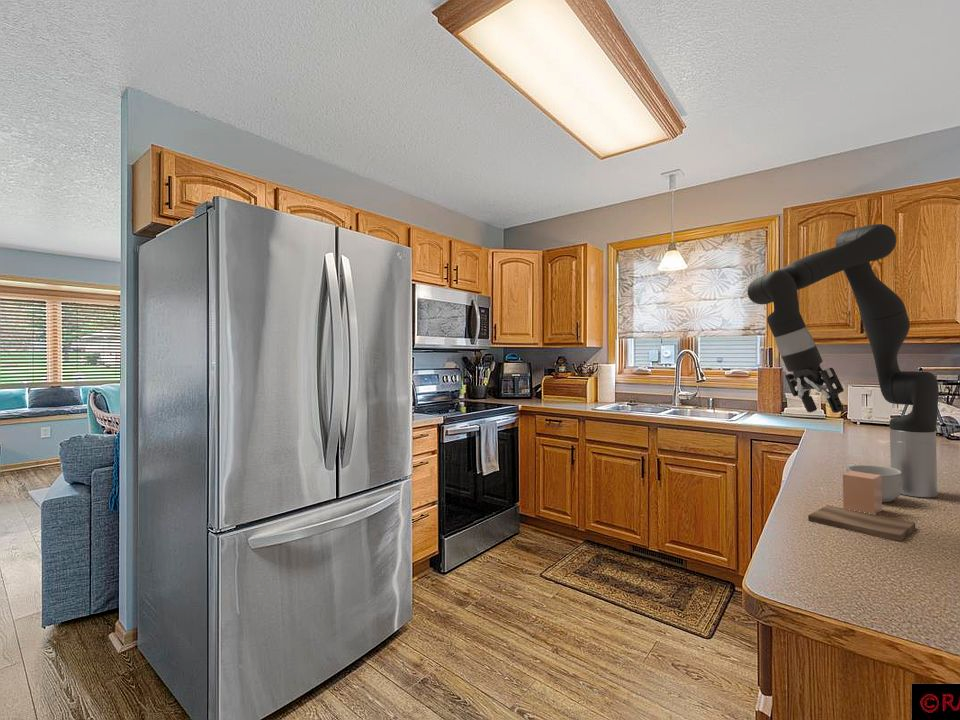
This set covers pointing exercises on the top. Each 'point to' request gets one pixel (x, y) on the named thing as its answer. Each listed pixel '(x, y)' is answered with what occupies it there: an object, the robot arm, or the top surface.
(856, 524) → the board
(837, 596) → the top surface
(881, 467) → the teacup
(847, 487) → the peach colored cube
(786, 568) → the top surface
